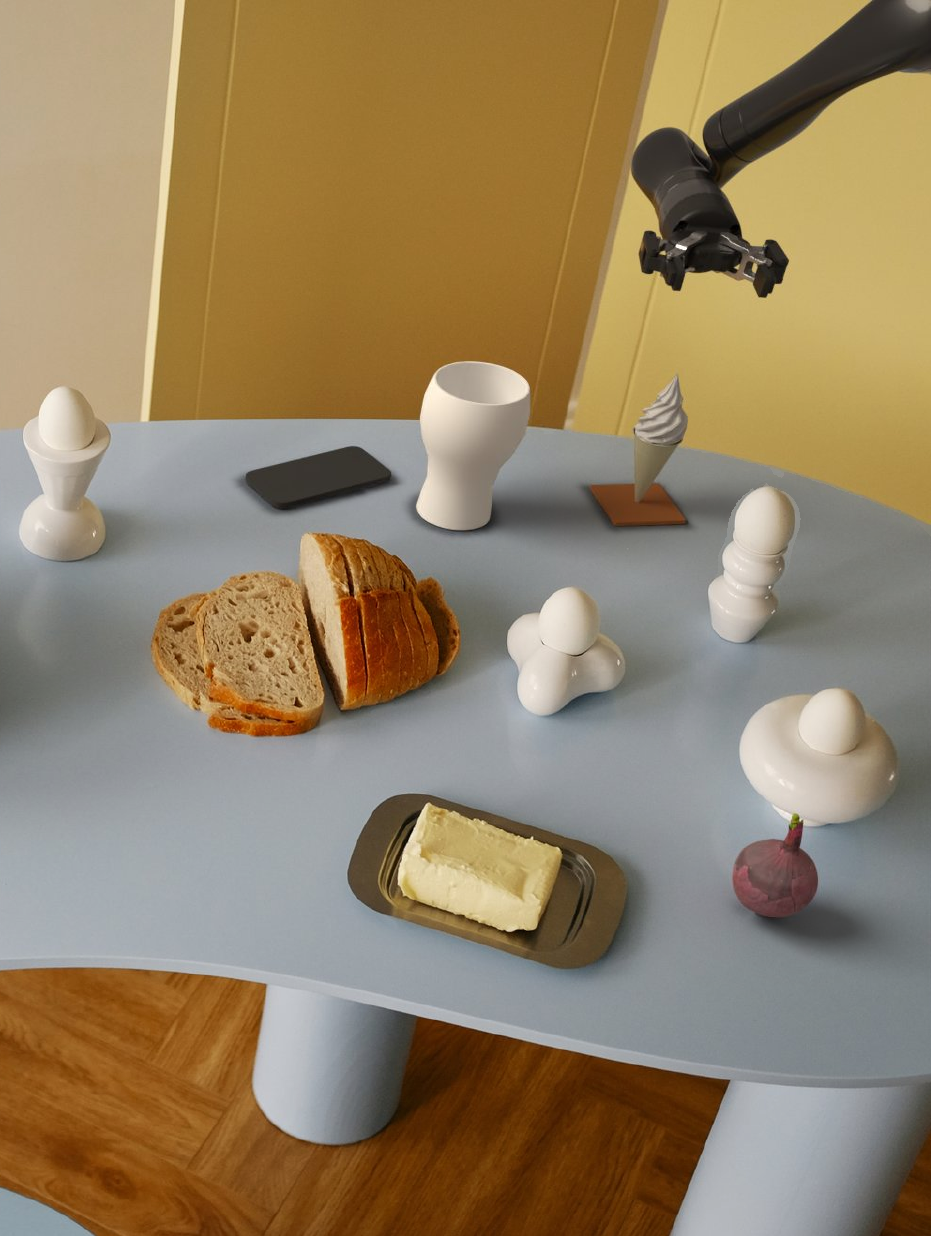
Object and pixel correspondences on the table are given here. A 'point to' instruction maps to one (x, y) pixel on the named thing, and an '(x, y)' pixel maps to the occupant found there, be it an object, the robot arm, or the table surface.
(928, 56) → the robot arm
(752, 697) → the table surface
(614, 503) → the cork mat
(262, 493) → the phone
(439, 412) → the cup
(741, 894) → the vegetable
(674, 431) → the ice cream cone
